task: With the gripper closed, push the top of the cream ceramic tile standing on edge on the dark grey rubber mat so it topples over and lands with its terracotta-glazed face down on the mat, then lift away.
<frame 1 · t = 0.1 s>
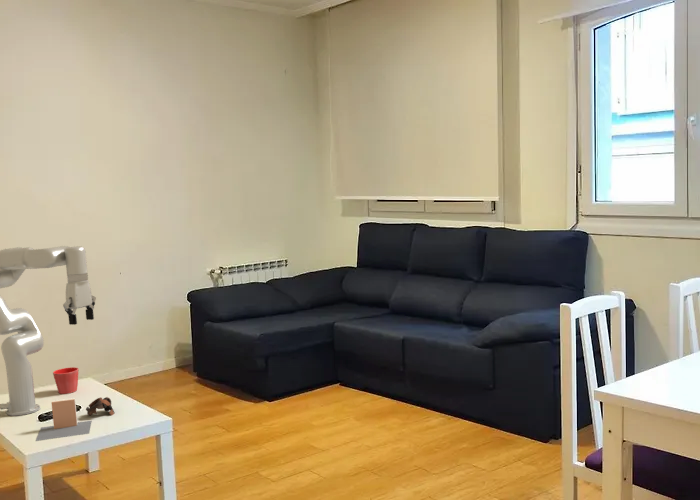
hand: (81, 321, 288), 37 cm above the table, tool pointing down, fingers open, 9 cm apart
tile: (65, 426, 276), point 1 cm above the table, touching mat
mat: (64, 432, 272), on the table
broken clay vessel: (102, 416, 290), on the table
flower pot: (67, 392, 329), on the table
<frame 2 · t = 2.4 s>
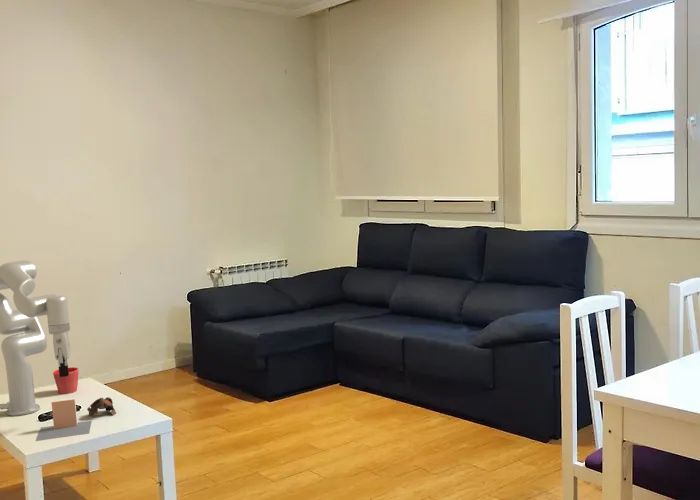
hand: (64, 376, 282), 18 cm above the table, tool pointing down, fingers closed
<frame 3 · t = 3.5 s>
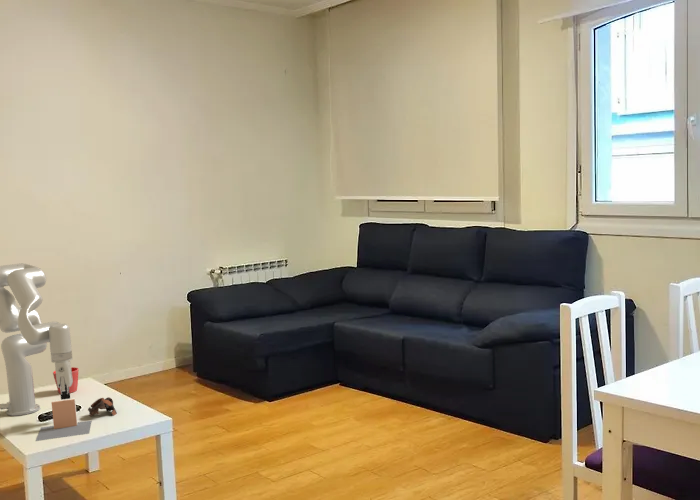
hand: (66, 403, 283), 7 cm above the table, tool pointing down, fingers closed
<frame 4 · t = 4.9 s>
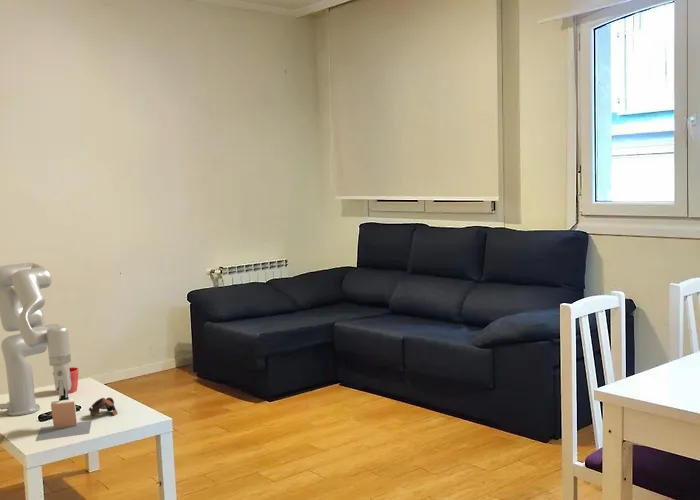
hand: (64, 408, 277), 7 cm above the table, tool pointing down, fingers closed
tile: (65, 425, 276), point 1 cm above the table, tilted 14°, touching mat
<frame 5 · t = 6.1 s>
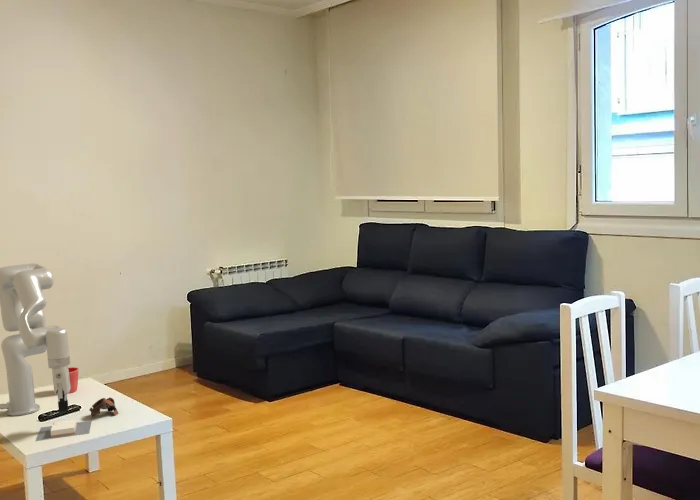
hand: (63, 410, 274), 7 cm above the table, tool pointing down, fingers closed
tile: (65, 424, 275), point 2 cm above the table, tilted 90°, touching mat
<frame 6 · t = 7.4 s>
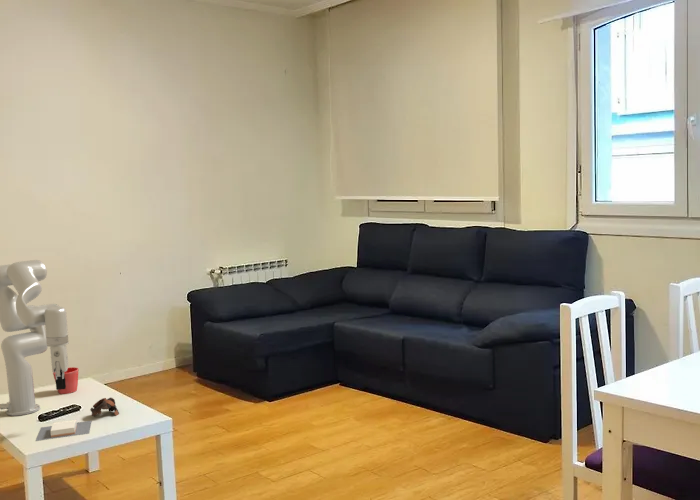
hand: (61, 388, 276), 15 cm above the table, tool pointing down, fingers closed
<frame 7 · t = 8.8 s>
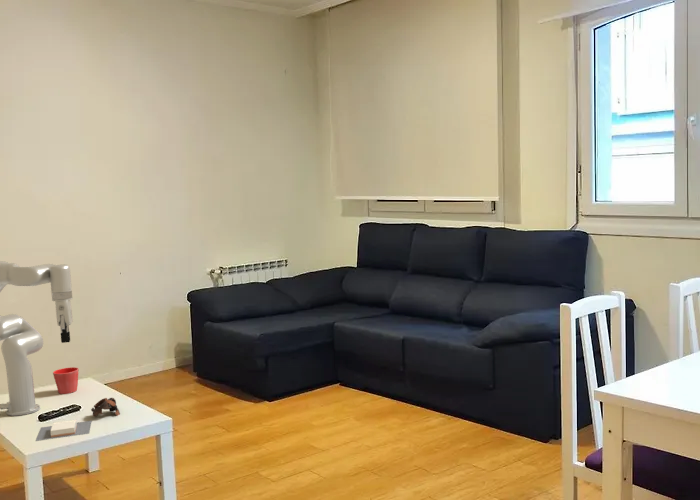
hand: (65, 341, 293), 29 cm above the table, tool pointing down, fingers closed
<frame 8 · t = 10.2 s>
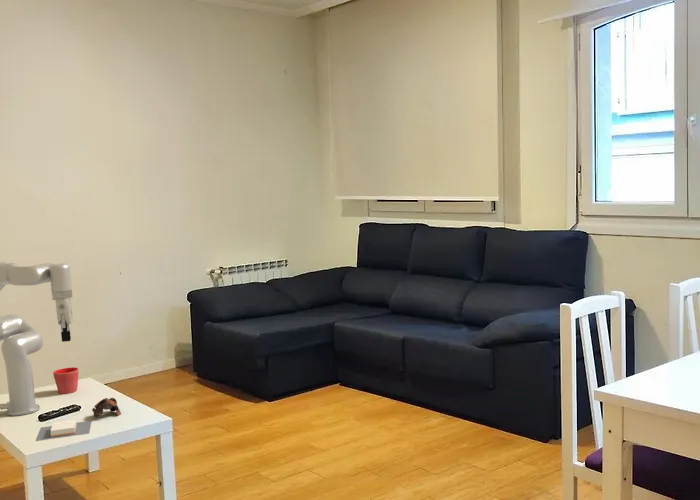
hand: (66, 340, 293), 29 cm above the table, tool pointing down, fingers closed
at the end: tile tilted 90°; tile point 1.8 cm above the table; tile 3.7 cm from the mat (horizontally) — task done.
